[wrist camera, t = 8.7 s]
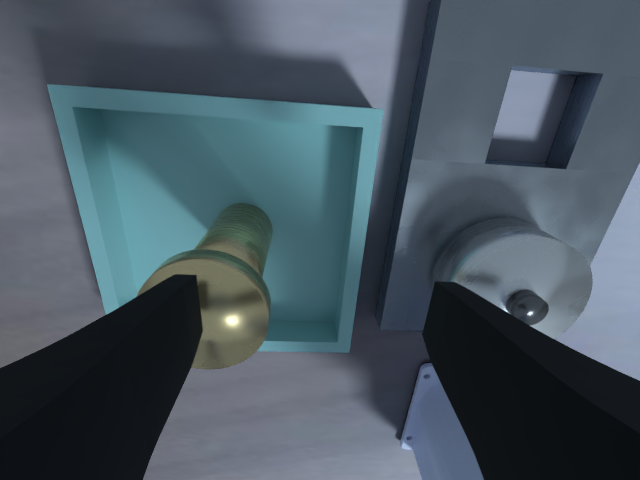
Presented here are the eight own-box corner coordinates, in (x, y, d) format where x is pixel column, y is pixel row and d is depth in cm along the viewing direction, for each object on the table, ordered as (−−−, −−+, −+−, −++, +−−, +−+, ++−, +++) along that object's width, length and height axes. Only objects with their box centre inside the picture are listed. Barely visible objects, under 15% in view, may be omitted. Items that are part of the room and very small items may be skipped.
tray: (344, 326, 22) (349, 353, 20) (135, 320, 21) (114, 348, 19) (372, 107, 16) (383, 109, 14) (85, 86, 15) (46, 84, 13)
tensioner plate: (541, 320, 22) (606, 381, 18) (375, 315, 22) (395, 378, 17) (676, 16, 15) (853, -24, 10) (431, -10, 14) (497, -64, 9)
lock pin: (281, 266, 19) (266, 372, 12) (206, 261, 19) (142, 366, 11) (285, 196, 17) (271, 268, 10) (203, 188, 17) (125, 258, 10)
